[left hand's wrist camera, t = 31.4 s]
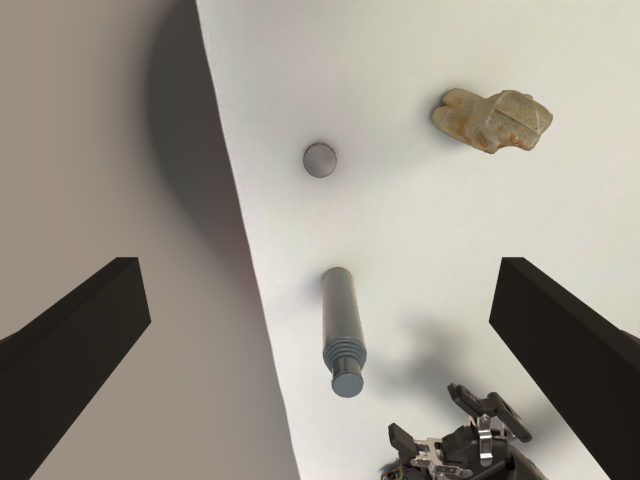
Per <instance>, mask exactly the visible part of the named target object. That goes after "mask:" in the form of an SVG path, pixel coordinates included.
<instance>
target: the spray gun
mask: <svg viewBox="0 0 640 480" xmlns="http://www.w3.org/2000/svg"><path fill="white" fill-rule="evenodd" d="M401 468H402V467H401V466H398V468H396V469H393V470H391V471H388V472H386V473H383V474H382V475H381V480H383V477H384V476H385V475H387V477H385V479H384V480H411V479H409V478H408V477H406V476H404V475H403V474H402V469H401ZM396 471H397V472H396ZM446 480H449V479H446Z"/></svg>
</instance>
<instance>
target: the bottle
mask: <svg viewBox="0 0 640 480" xmlns="http://www.w3.org/2000/svg"><path fill="white" fill-rule="evenodd" d="M322 329H323V359H324V362H325V364H326V366H327V367H328V369H329V370H330V372H331V373H332V381H331V382H332V389H333V391H334V392H335V393H336V394H337V395H339V396H341V397H345V398H350V397H354V396H356V395H358V394H359V393H360V392H361V390H362V388H363V378H362V375H361V370H362V368H363V366H364V364H365V361H366V356H367V352H366V346H365V341H364V336H363V330H362V325H361V320H360V314H359V309H358V304H357V298H356V293H355V288H354V282H353V278H352V275H351V274H350V273H349V272H348V271H347V270H345V269H343V268H333V269H330V270H328V271H327V272H326V273H325V274H324V276H323V278H322Z"/></svg>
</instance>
